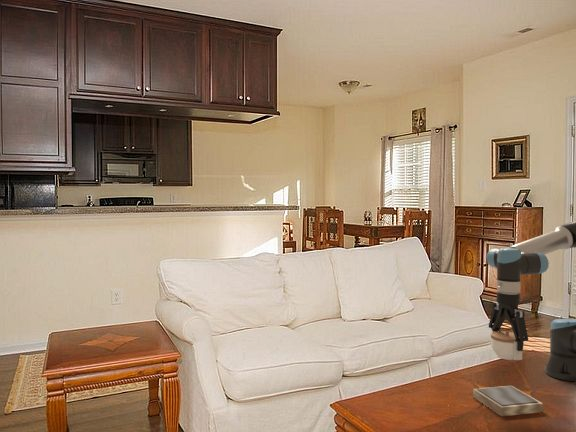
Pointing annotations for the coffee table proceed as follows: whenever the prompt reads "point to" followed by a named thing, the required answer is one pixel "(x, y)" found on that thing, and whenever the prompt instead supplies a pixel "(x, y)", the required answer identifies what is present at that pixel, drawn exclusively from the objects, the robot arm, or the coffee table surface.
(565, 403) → the coffee table surface
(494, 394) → the stand
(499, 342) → the lidded jar
